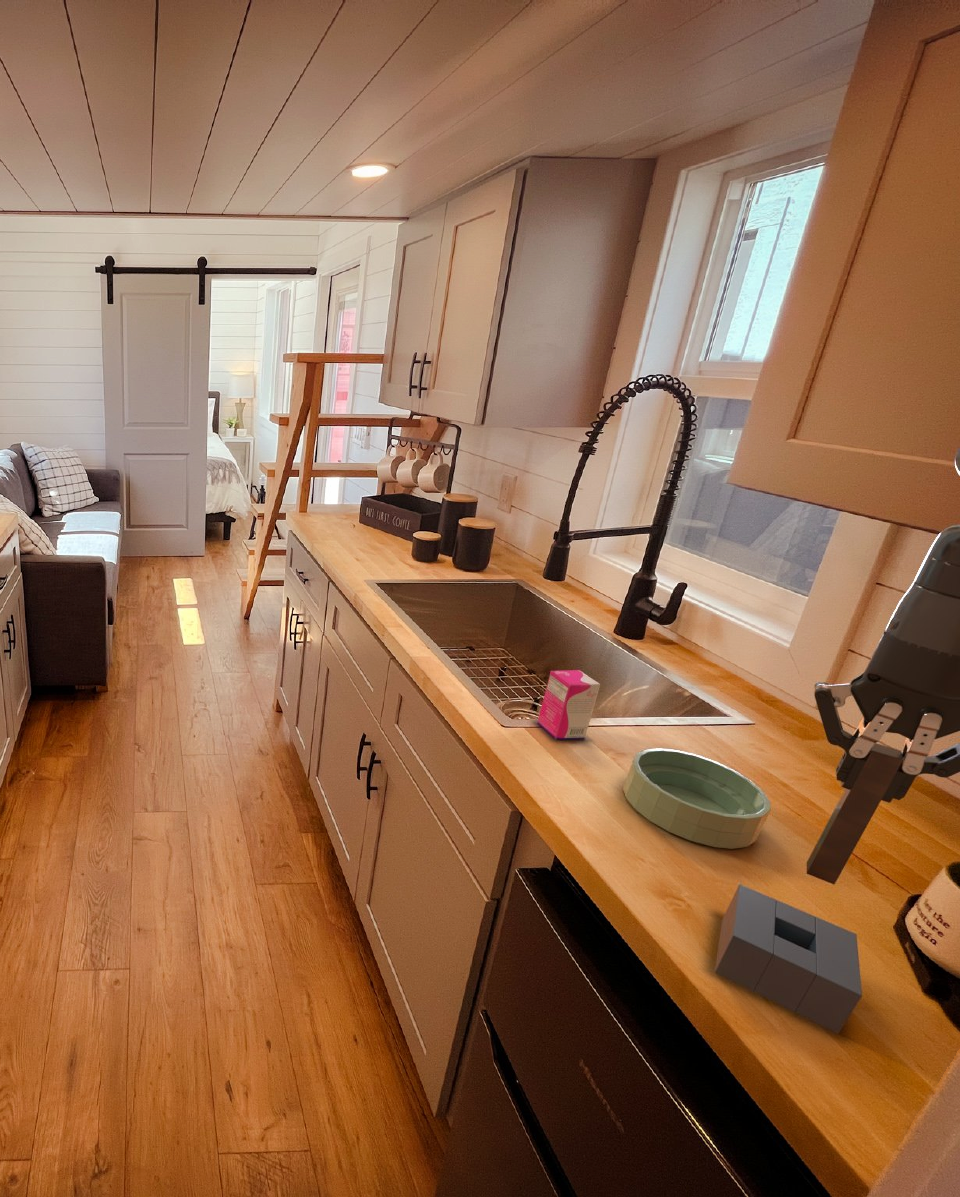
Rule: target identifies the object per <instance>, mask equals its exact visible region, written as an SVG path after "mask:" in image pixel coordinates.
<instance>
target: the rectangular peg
mask: <svg viewBox="0 0 960 1197" xmlns="http://www.w3.org/2000/svg"><path fill="white" fill-rule="evenodd" d="M865 760H866V762H865V764H864V766H863V768H862V770H861V772H860V774H859V776H858V777H857V779H856V781H855V783H854V785H853V787H852V789H851V790H849V789H846V788H844V790H843V793H842V794H841V797H840V798H839V800H838V802H837V804H836V806H835V807H834V809H833V812H832V813H831V816H830V817H829V818H828V820H827V823H826V825H825V827H824V828H823V830H822V832H821V834H820V836H819V838H818V840H817V842H816V844H815V846H814V848H813V849H812V851H811V854H810V855H809V857H808V859H807V861H806V874H807V875H809V876H811V877H814V878H816V879H819V880H821V881H824V882H826V883H830V884H831V885H836V883H837V881H838V880H839V877H840V876H841V874H842V872H843V870H844V868H845V866H846V865H847V863H848V861H849V859H850V858H851V856H852V854H853V852H854V851H855V849H856V846H857V845H858V843H859V841H860V840H861V838H862V836H863V834H864V833H865V830H866V828H867V827H868V825H869V824H870V821H871V820H872V818H873V816H874V814H875V813H876V811H877V809H878V807H879V805H880V804H881V802H882V798H883V796H884V794H885V792H886V791H887V789H888V787H889V785H890V783H891V782H892V780H893V778H894V776H895V774H896V773H897V771H898V769H899V767H900V766H901V764H902V762H903V756H902V750H900V749H897V748H894V747H890V746H887V745H883V744H880V743H878V742H876V743H875V744H874V746H873V747H872V748H871V750H870V751H869V752H868V754H867V755H866V756H865Z"/></svg>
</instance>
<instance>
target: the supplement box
mask: <svg viewBox="0 0 960 1197" xmlns="http://www.w3.org/2000/svg"><path fill="white" fill-rule="evenodd" d="M600 688H601V684H600V683H599V682H598V681H596V680H594V678H591V677H590V676H589V675H587V674H586V673H584V672H583V671H581V670H580V669H575V670H571V669H570V670H551V671H550V673H549V676H548V680H547V684H546V688H545V692H544V695H543V698H542V699H543V700H542V704H541V708H540V711H539V714H538V718H537V723H536V724H537V725H539V727H540V728H542V729H543V730H544V732H546V733H547V734H548V735H549V736H551V738H552V739H553V740H555V741H580V740H581V741H582V740H583V741H585V740H586V736H587V732H588V729H589V726H590V722H591V719H592V716H593V711H594V708H595V705H596V701H597V698H598V694H599V691H600Z"/></svg>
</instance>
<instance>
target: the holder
mask: <svg viewBox="0 0 960 1197" xmlns="http://www.w3.org/2000/svg"><path fill="white" fill-rule="evenodd" d="M857 935H858V934H857V933H855V932H854V931H853V932H852V931H851V930H848V929H845V928H844V927H841V926H838V925H836V924H834V923H832V922H829V921H827V920H825V919H822V918H820V917H818V916H815V915H812V914H811V913H808V912H806V911H804V910H801V909H799V908H796V907H794V906H792V905H789V904H787V903H786V902H785V903H784V902H783V901H780V900H778V899H775V898H773V897H771V896H769V895H766V894H764V893H761V892H760V891H757V890H755V889H752V888H750V887H748V886H745V885H743V884H741V883H739V884H738V886H737V888H736V889H735V892H734V894H733V896H732V898H731V900H730V903H729V905H728V907H727V909H726V912H725V913H724V914H723V917H722V920H721V926H720V934H719V940H718V947H717V954H716V959H715V966H714V967H715V968H714V973H715V974H717V975H719V976H721V977H722V978H724V979H727V980H729V981H731V982H733V983H735V984H737V985H739V986H741V987H743V988H745V989H746V990H749V991H750V992H753V993H755V994H757V995H759V996H761V997H763V998H765V999H767V1000H769V1001H771V1002H772V1003H774V1004H776V1005H779V1006H780V1007H783V1008H784V1009H786V1010H788V1011H790V1012H793V1013H795V1014H796V1015H799V1016H800V1017H802V1018H805V1019H806V1020H808V1021H810V1022H812V1023H814V1024H817V1025H818V1026H820V1027H822V1028H824V1029H826V1030H828V1031H830V1032H832V1033H834V1034H836V1035H839V1034H840V1032H841V1030H842V1029H843V1027H844V1025H845V1024H846V1022H847V1021H848V1019H849V1018H850V1016H851V1014H852V1013H853V1011H854V1009H855V1008H856V1007H857V1005H858V1003H859V1002H860V1000H861V999H862V998H863V989H862V980H861V968H860V958H859V946H858V936H857Z"/></svg>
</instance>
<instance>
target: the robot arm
mask: <svg viewBox="0 0 960 1197" xmlns="http://www.w3.org/2000/svg"><path fill="white" fill-rule="evenodd" d="M954 466H955V469H956V472H957V473H958V475H959V476H960V445H959V447H958V448H957V450H956V453H955V457H954ZM813 692H814V694H813V695H814V700H815V702H816V707H817V709H818V712H819V716H820V720H821V724H822V727H823V730H824V733H825V736H826V739H827V742H828V743H829V744H830V745H832V746H838V747H839V748H841V749H842V750H844V752H843V755H842V756H841V759H839V762H838V765H837V766H836V768H835V776H836V781H839V782H840V787H841V788H843V789H849V790H851V789H852V787H853V785H854V783H855V781H856V779H857V777H858V776H859V774H860V772H861V770H862V768H863V766H864V764H865V762H866V760H865V756H866V755H867V754H868V752H869V751H870V750H871V748H872V747H873V746H874V744H875V743H879V741H880V740H881V739H882V737H883V736H884V735H885V733H889V734H897V735H900V736H902V737H904V738H905V741H904V744H903V747H902V750H901V752H902V756H903V762H902V764H901V766H900V767H899V769H898V771H897V773H896V774H895V776H894V778H893V780H892V782H891V783H890V785H889V787H888V789H887V791H886V792H885V794H884V796H883V798H882V800H881V802H882V801H883V802H885V803H888V804H889V803H892V801H893V800H896V801H900V800H903V798H905V797H906V795H907V794H908V792H909V790H910V788H911V786H912V785H913V783H914V781H915V779H916V778H917V777H919V776H920V775H934V776H937V777H938V778H950V777H952V776H955V775H957V774H959V773H960V742H958V743H956V744H955V745H952V746H950V747H948V748H946V749H944V750H942V751H939V752H938V753H936V754H933V755H931V756H930V753H931V750H932V747H933V746H934V745H933V744H934V742H935V740H938V739H941V738H944V737H946V736H949V735H952V734H955V733H959V732H960V523H956V524H953V525H950V526H948V527H946V528H944V529H943V530H942V531H941V532H940V533H939V534H938V536H937V537H936V538H935V540H934V542H933V543H932V545H931V547H930V548H929V550H928V552H927V554H926V556H925V558H924V560H923V562H922V563H921V566H920V568H919V569H918V572H917V574H916V576H915V578H914V581H913V582H912V584H911V585H910V587H909V588H908V589H907V591H906V592H905V594H904V595H903V596H902V598H901V599H900V600H899V602H898V604H897V606H896V608H895V610H894V611H893V614H892V615H891V617H890V619H889V621H888V624H887V626H886V627H885V630H884V632H883V634H882V636H881V638H880V640H879V641H878V643H877V645H876V648H875V650H874V652H873V654H872V656H871V657H870V660H869V662H868V664H867V666H866V668H865V670H864V671H863V672H862V673H861V674H860V675H858V676H856V677H855V678H853V679H852V680H851V682H850V683H841V684H840V683H839V684H829V683H828V682H825V681H819V682H816V683H815V684H814V687H813ZM848 697H852V698H853V699H854V702H855V703H856V705H857V707H858V710H859V711H860V713H861V715H862V718H861V719H860V721H859V723H858V726H857V728H856V729H855V730H854V732H853V733H849V732H848V731H847V730H844V726H843V723H842V721H841V717H840V714H839V710H838V708H842V707H843V706H845V705H846V699H847V698H848Z"/></svg>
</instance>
